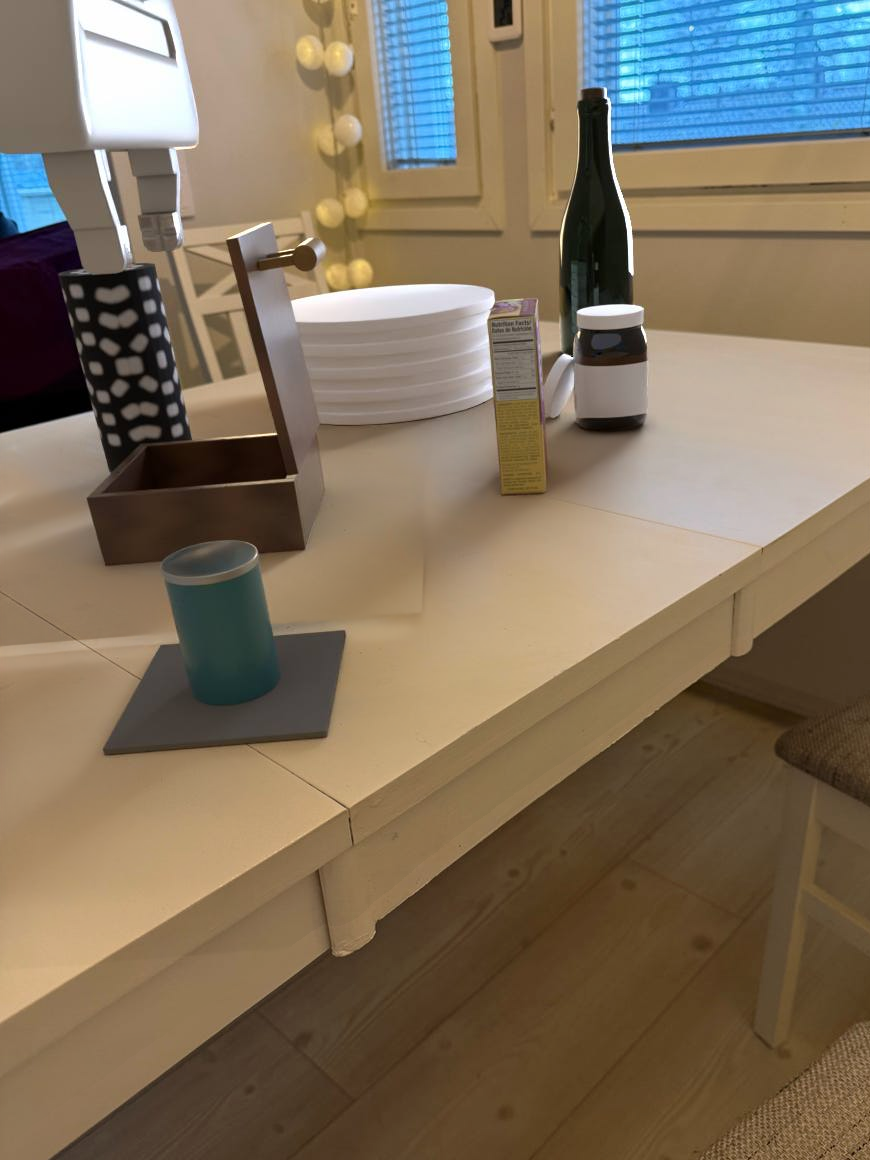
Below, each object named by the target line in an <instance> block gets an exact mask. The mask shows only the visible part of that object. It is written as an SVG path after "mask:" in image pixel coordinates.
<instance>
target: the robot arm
mask: <svg viewBox="0 0 870 1160" xmlns="http://www.w3.org/2000/svg"><path fill="white" fill-rule="evenodd" d="M173 2H174V1H173V0H0V153H1V154H3V155H39V154H41V159H42V163H43V167H44V170H45V175H46V179H47V182H48V187H49V189H50V191H51V192H52V194H53V196H54V198H55V201H56V203H57V204H58V206H59V208H60V210H61V211H62V213H63V215H64V217H65V219H66V221H67V223H68V226H69V227H70V229H71V230H72V231H73V235H74V238H75V243H76V247H77V251H78V255H79V259H80V263H81V266H82V268H84V269H85V270H86V272H88V273H90V274H92V275H96V274H111V273H119V272H122V271H123V270H125V269H127V268H129V267H131V265H132V263H134V257H133V252H132V249H131V245H130V244H131V243H130V242H131V241H130V237H129V234H128V228H127V225H126V224H121V222H120V219H119V215H118V212H117V208H116V205H115V202H114V198H113V196H112V192H111V189H110V185H109V182H112V175H111V171H110V166H109V161H108V156H107V153H127V157H128V160H129V165H130V170H131V174H132V177H135V178H136V185H137V192H138V200H139V209H140V214H138V215H137V219H138V224H139V230H140V232H141V237H142V244H143V246H144V247H145V249H146V250H147V251H149V252H152V253H160V252H172V251H173V252H174V251H177V250H178V249H180V248H182V247H183V246H184V245H185V240H186V239H185V233H184V228H183V223H182V218H181V212H180V211H181V170H180V165H179V159H178V155H177V150H185V149H193V148H196V147H197V146H198V145H199V139H200V126H199V124H200V123H199V116H198V110H197V105H196V101H195V100H196V99H195V94H194V90H193V85H192V80H191V76H190V71H189V65H188V61H187V56H186V52H185V46H184V43H183V38H182V33H181V29H180V25H179V21H178V16H177V13H176V9H175V6H174V3H173Z"/></svg>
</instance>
